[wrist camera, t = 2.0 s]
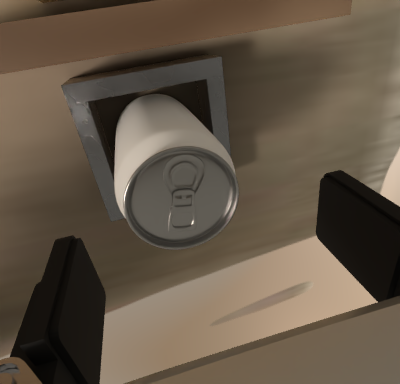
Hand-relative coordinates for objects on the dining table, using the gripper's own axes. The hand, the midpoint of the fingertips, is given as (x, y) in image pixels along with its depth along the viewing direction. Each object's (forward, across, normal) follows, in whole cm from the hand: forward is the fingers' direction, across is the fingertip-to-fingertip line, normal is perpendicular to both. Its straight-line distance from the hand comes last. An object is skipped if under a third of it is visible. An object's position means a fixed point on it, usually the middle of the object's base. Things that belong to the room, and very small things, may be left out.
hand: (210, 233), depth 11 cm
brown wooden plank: (+15, +1, -7) cm, 17 cm away
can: (+15, +1, 0) cm, 15 cm away
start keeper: (+15, +1, 0) cm, 15 cm away
